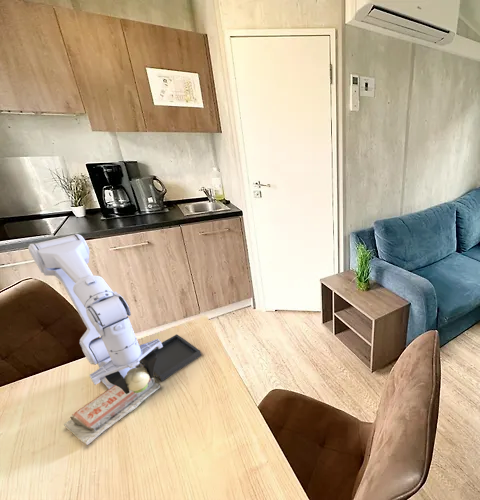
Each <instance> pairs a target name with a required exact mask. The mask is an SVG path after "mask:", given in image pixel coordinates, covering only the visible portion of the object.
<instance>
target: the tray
mask: <svg viewBox="0 0 480 500" xmlns="http://www.w3.org/2000/svg"><path fill="white" fill-rule="evenodd" d="M161 343H162V346H163V347H162V348H160V349H158V348H157V349H155V350H154V352H155V353H156V354H157V359H156V362H155V365H154V377H156V378H157V379H158V380H159V381H160V382H164V381H165V380H166V379H169V377H171V376H172V375H174V374H175V373H177V372H178V371H180V370H182V369H183V368H184V367H186V366H187V365H189V364H191V363H192V362H195V360H197V359H198V358H200V357H201V356H202V352H201V350H200V349H199V348H197V347H196V346H194V345H193V344H192V343H190V342H188V341H187V340H186V339H184V338H183V337H182V336H180V335H179V334H175V335H173V336H170V337H169V338H167V339H166V340H164V341H161ZM139 362H140V364H142V365H143V366H144V364H143V362H142V360H140V361H139Z"/></svg>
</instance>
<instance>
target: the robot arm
mask: <svg viewBox="0 0 480 500" xmlns="http://www.w3.org/2000/svg"><path fill="white" fill-rule="evenodd" d="M27 248H28V253H30V255H31V258H32V260H33V262H34V263H35V264H36V266H37V268H38V269H39V271H40V273H42V274H43V276H46V277H47V276H48V277H49V276H51V277H55V278H56V279H58V281H60V283H61V284H62V286H63V288H64V289H65V291H66V293H67V295H68V296H69V298H70V300H71V302H72V304H73V306H74V307H75V309H76V311H77V313H78V315H79V316H80V318H81V320H82V322H83V323H84V326H85V327H86V331H85V332H84V333H83V334H82V336H81V337H80V339H79V345H80V347H81V350H82V352H83V354H84V357H85V358H86V359H87V361H88V363H89V364H90V365H94V366H96V365H97V366H98V369H96V370H95V371H94V372H91V373H90V374H89V375H88V376H89V378H90V381H91V382H92V383H93V385H94V386H96V385H98V384H100V383H101V382H102V384H103V385H104V386H105V387H106V388H107V390H109V389H110V388H111V387H113V386H115V385H116V386H118V387H120V388H121V389H122V390H123V391H124V392H125V393H126V394H128V393H130V392H129V389H128V388H127V386H126V384H125V381H124V377H125V376H126V375H127V372H128V371H129V370H130V369H132V368H138V367H137V366H139V365H140V364H141V362H140V360H142V362H143V364H144V365H143V364H142V365H143V367H145V368H146V369H147V372H148V373H149V376H150V378H151V379H152V378H153V379H155V378H154V377H155V375H154V365H155V362H156V359H157V354H156V353H155V352H154V350H155V349H157V348H158V349H160V348H162V347H163V346H162V341H161V340H160V339H159V338H156V339H154V340H152V341H149V342H145V343H143V344H140V343H139V341H138V339H137V336H136V333H135V331H134V328H133V325H132V323H131V320H130V317H131V315H132V313H131V310H130V306H129V305H128V302H127V301H126V299H125V298H124V297H123V296H122V295H121V294H120V293H118V291H113V289H112V288H111V287H110V286H109V284H108V283H107V282H106V280H105V279H104V278H103V277H102V276H101V275H94V274H93V272H92V270H91V268H90V267H89V265H88V264H89V262H90V247H89V245H88V243H87V241H86V239H85V238H84V236H82V235H81V234H79V233H74V234H71V235H67V236H63V237H59V238H54V239H49V240H43V241H40V242H36V243H29V245H28V246H27Z"/></svg>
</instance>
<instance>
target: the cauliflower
mask: <svg viewBox="0 0 480 500" xmlns="http://www.w3.org/2000/svg"><path fill="white" fill-rule="evenodd" d="M149 378H150V376H149V373H148V372H147V369H146V368H145V367H144V366H139V367H137V368H132V369H130V370H129V371H128V372H127V375H126V376H125V377H124V381H125V384H126V386H127V388H128V389H129V390H130V391H133V392H134V393H139V392H142V391H144V390H145V389H146V388H147V386H148V382H149Z"/></svg>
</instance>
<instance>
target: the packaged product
mask: <svg viewBox="0 0 480 500" xmlns="http://www.w3.org/2000/svg"><path fill="white" fill-rule="evenodd" d="M160 388H161V384H159V383H158V382H157V383H156V382H155V378H152V379H151V378H149V382H148V386H147V388H146V389H145V390H144V391H142V392H139V393H134V392H133V391H130V390H129V392H130V393H128V394H126V393H125V392H124V391H123V390H122V389H121V388H120V387H118V386H116V385H115V386H113V387H111V388H110V389H107V390H105V391H104V392H103V393H102V394H100V395H98V396H97V397H96V398H94V399H93V400H91V401H90V402H88V403H86V404H85V405H84V406H83V407H80V408H79V409H78V410H76V411H74V413H72V414H71V415H70V420H68V421H67V422H65V423H63V426H64V427H65V428H66V430H68V431H69V432H70V433H72V434H73V435H74V437H76V438H77V440H79V441H80V442H81V443H83V444H85V445H86V446H89V445H90V444H91V443H92V442H93V441H94V440H96V438H98V437H99V436H100V435H101V434H102V433H104V432H105V431H106V430H108V429H109V428H110V427H112V426H113V425H114V424H116V423H117V422H119V420H121V419H122V418H124V417H126V416H127V415H128V414H129V413H131V412H133V411H134V410H135V409H137V408H138V406H139V405H141V404H142V403H143V402H144V401H145V400H146V399H148V397H150V396H151V395H152V394H154V393H155V392H157V391H158V390H159V389H160Z"/></svg>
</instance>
